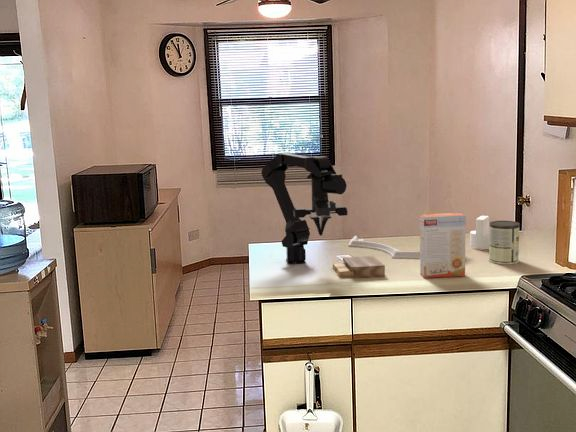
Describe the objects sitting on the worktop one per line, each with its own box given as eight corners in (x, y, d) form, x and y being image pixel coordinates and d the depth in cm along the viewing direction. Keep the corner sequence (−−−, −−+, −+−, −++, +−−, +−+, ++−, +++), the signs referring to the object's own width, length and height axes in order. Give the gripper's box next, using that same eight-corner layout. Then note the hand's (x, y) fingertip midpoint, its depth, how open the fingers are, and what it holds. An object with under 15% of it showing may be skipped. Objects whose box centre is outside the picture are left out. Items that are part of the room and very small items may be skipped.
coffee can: (487, 257, 229) (488, 220, 226) (517, 258, 226) (518, 220, 224) (489, 264, 219) (490, 225, 217) (519, 265, 216) (521, 226, 214)
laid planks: (351, 278, 206) (351, 267, 206) (342, 267, 220) (342, 257, 219) (384, 276, 208) (384, 265, 207) (374, 266, 221) (374, 255, 221)
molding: (430, 258, 232) (430, 251, 231) (407, 263, 225) (407, 256, 225) (358, 240, 267) (358, 234, 266) (336, 244, 260) (336, 237, 260)
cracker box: (459, 272, 210) (461, 211, 206) (465, 276, 204) (466, 214, 200) (419, 273, 210) (419, 213, 206) (423, 278, 204) (424, 216, 200)
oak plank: (332, 269, 220) (332, 263, 220) (346, 268, 221) (346, 262, 220) (339, 278, 208) (339, 271, 208) (354, 277, 209) (354, 270, 208)
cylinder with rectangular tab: (490, 250, 239) (491, 220, 237) (467, 248, 244) (467, 218, 242) (495, 245, 247) (496, 216, 245) (473, 243, 251) (474, 215, 249)
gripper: (296, 196, 207) (297, 241, 210) (350, 193, 209) (351, 238, 212) (292, 192, 218) (293, 235, 221) (343, 189, 220) (344, 232, 223)
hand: (320, 235), depth 219 cm, fingers closed
